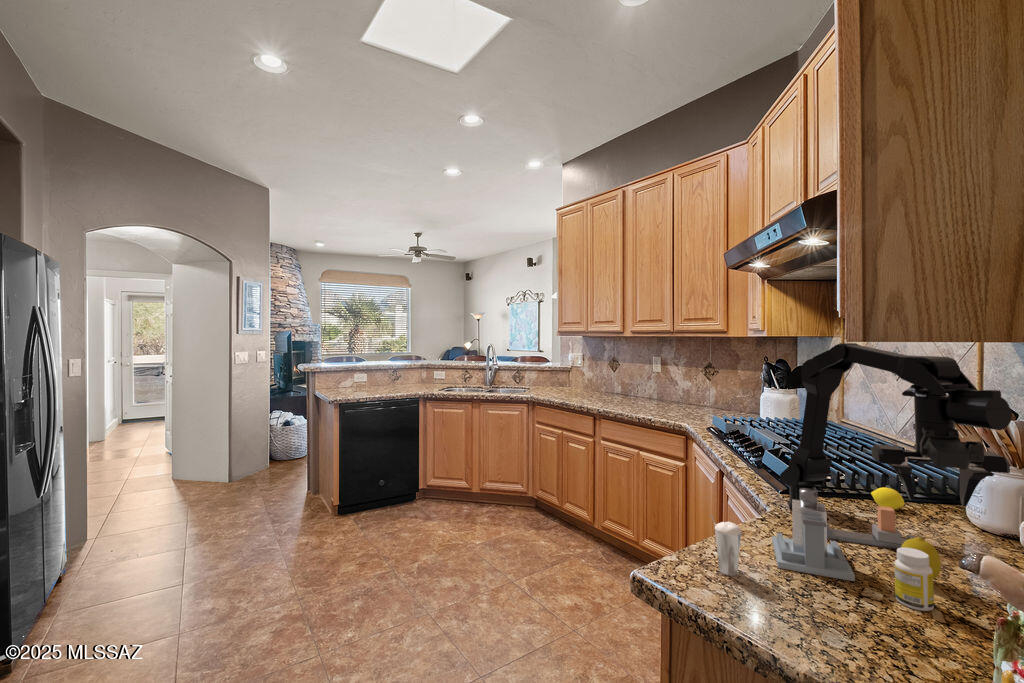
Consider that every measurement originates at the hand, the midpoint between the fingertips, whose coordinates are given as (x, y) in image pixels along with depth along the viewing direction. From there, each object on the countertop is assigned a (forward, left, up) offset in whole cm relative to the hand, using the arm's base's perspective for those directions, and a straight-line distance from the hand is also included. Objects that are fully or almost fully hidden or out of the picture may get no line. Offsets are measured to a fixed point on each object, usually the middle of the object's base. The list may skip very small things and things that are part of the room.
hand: (937, 502), depth 87 cm
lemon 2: (+9, -5, -12) cm, 16 cm away
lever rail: (-8, -9, -12) cm, 17 cm away
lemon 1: (-35, +1, -13) cm, 37 cm away
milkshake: (+19, -37, -12) cm, 43 cm away
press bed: (+7, -22, -12) cm, 26 cm away
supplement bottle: (+18, -9, -12) cm, 23 cm away
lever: (-8, -6, -11) cm, 15 cm away
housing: (+7, -22, -11) cm, 25 cm away
